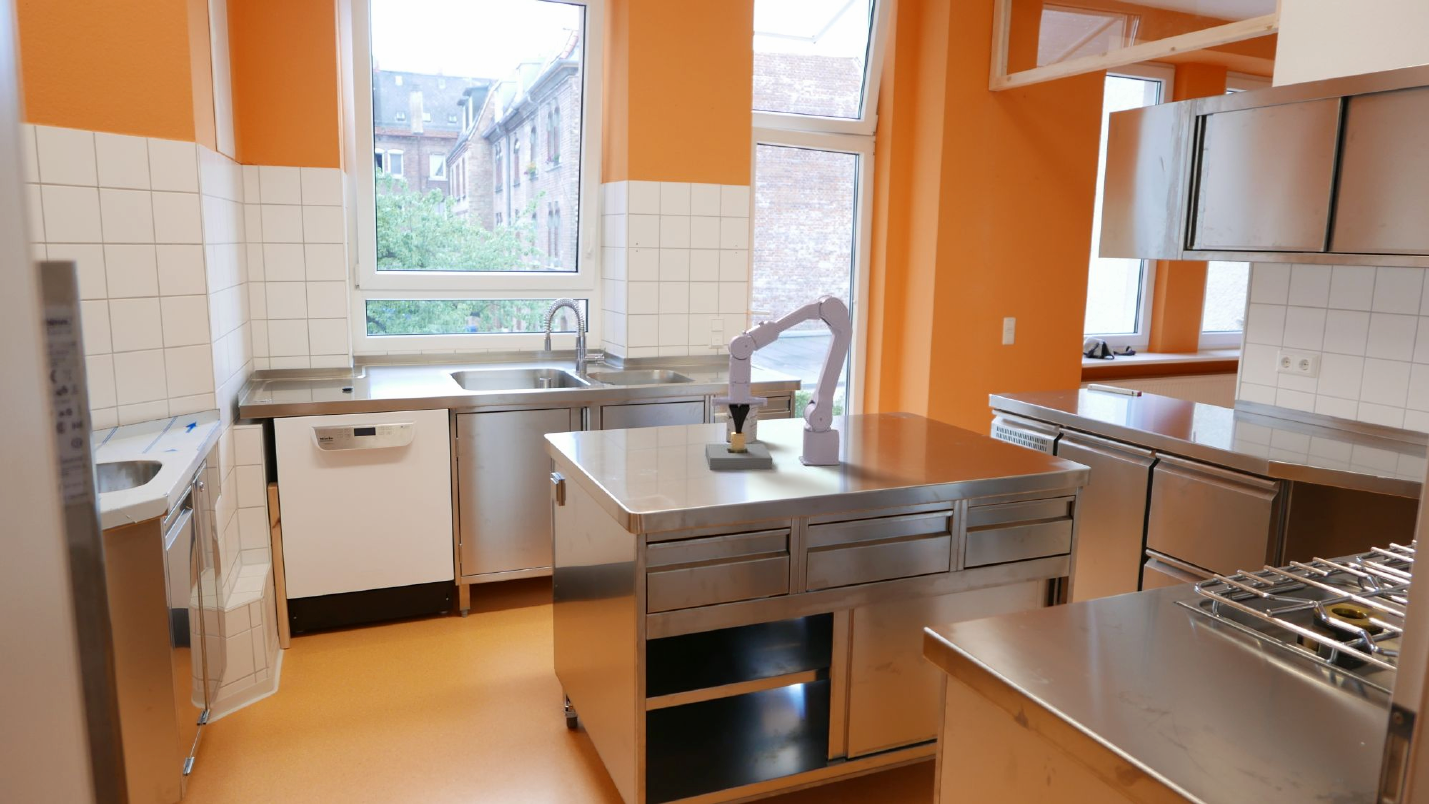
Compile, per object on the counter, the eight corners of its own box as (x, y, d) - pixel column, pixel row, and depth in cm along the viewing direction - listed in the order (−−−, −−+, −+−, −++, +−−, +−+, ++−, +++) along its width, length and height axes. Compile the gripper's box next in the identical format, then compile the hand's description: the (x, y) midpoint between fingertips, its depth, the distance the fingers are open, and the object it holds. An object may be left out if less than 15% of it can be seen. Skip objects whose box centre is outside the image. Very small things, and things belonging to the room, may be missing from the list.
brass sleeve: (744, 460, 243) (745, 430, 241) (745, 463, 239) (746, 434, 237) (729, 460, 243) (730, 430, 241) (730, 463, 239) (731, 433, 237)
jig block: (763, 454, 249) (763, 444, 249) (772, 469, 233) (772, 458, 233) (705, 454, 248) (705, 444, 247) (710, 469, 232) (710, 458, 231)
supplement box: (725, 441, 264) (726, 399, 262) (734, 436, 271) (735, 395, 269) (749, 444, 262) (750, 401, 259) (757, 439, 268) (758, 397, 266)
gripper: (765, 379, 241) (763, 429, 244) (710, 379, 240) (709, 429, 242) (768, 383, 234) (767, 435, 237) (712, 383, 233) (711, 434, 236)
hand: (738, 432), depth 239 cm, fingers closed, pressing on brass sleeve
